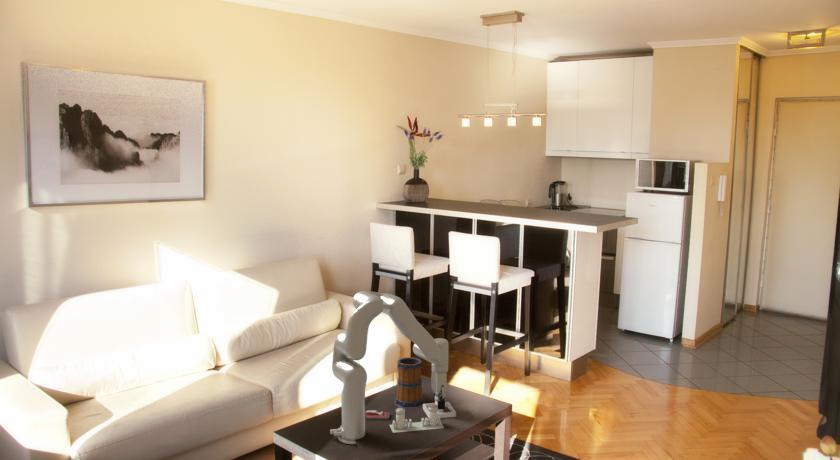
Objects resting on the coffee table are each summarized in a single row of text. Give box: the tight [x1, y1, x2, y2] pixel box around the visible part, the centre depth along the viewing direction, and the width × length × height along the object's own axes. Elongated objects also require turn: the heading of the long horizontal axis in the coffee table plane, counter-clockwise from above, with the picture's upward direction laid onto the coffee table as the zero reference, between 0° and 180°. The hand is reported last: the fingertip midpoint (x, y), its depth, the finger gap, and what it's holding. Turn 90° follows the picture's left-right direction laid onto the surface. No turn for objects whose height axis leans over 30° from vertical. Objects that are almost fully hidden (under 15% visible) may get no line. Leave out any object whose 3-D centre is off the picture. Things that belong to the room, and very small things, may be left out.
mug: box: [393, 356, 426, 409], centre depth 311 cm, size 19×14×20 cm
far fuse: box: [428, 405, 437, 427], centre depth 281 cm, size 4×4×8 cm
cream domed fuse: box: [395, 407, 406, 430], centre depth 278 cm, size 4×4×8 cm
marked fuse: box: [435, 395, 445, 413], centre depth 294 cm, size 4×4×8 cm
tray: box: [422, 401, 457, 419], centre depth 295 cm, size 12×12×4 cm
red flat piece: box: [365, 409, 391, 421], centre depth 291 cm, size 9×4×20 cm
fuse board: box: [389, 417, 445, 434], centre depth 280 cm, size 22×8×4 cm, turn 103°
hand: (439, 405), depth 294 cm, fingers open, 6 cm apart
